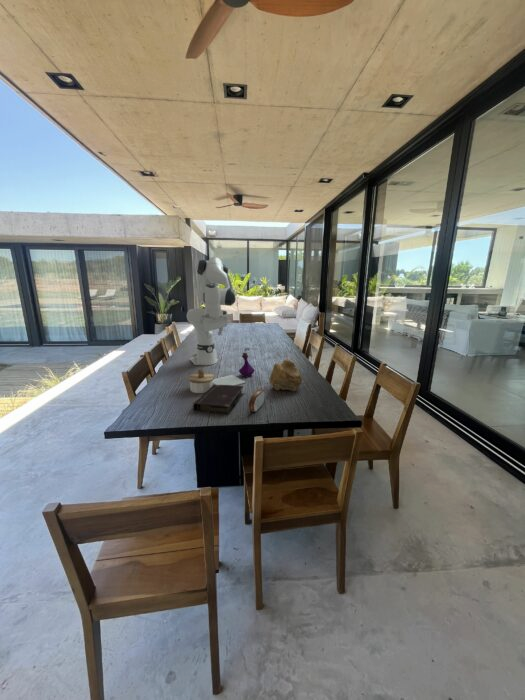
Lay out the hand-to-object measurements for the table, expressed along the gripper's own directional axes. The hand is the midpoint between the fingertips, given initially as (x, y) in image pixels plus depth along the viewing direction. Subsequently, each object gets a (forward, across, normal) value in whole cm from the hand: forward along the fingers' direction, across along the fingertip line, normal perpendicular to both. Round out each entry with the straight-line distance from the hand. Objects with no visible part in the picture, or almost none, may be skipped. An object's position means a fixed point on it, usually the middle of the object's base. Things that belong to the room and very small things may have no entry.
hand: (214, 336), depth 171 cm
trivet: (+27, +1, -8) cm, 28 cm away
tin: (+26, -17, -43) cm, 53 cm away
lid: (+20, -15, -3) cm, 26 cm away
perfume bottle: (+28, +17, -10) cm, 34 cm away
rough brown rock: (+27, +14, -42) cm, 52 cm away
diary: (+26, -22, -24) cm, 42 cm away
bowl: (+26, -16, -3) cm, 31 cm away
